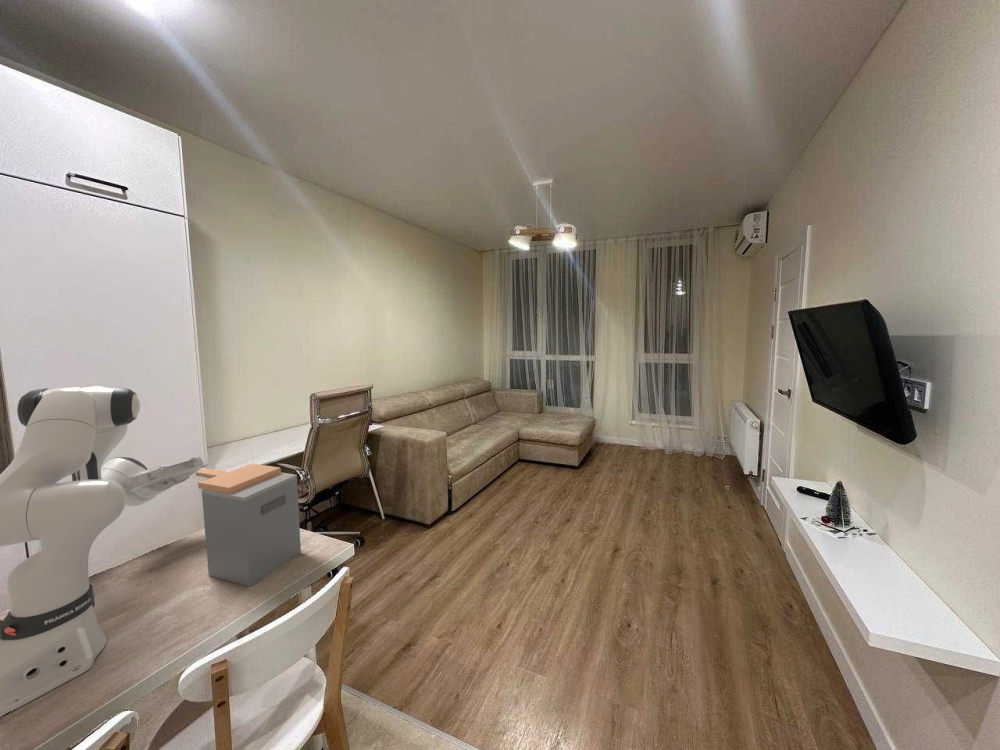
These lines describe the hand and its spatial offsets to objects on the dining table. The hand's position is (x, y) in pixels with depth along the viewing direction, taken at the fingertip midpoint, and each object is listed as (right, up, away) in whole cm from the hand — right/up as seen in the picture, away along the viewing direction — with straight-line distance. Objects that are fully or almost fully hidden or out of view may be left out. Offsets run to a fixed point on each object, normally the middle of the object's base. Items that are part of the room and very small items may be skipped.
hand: (180, 463), depth 125 cm
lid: (+20, -3, -6) cm, 21 cm away
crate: (+29, -29, -6) cm, 41 cm away
